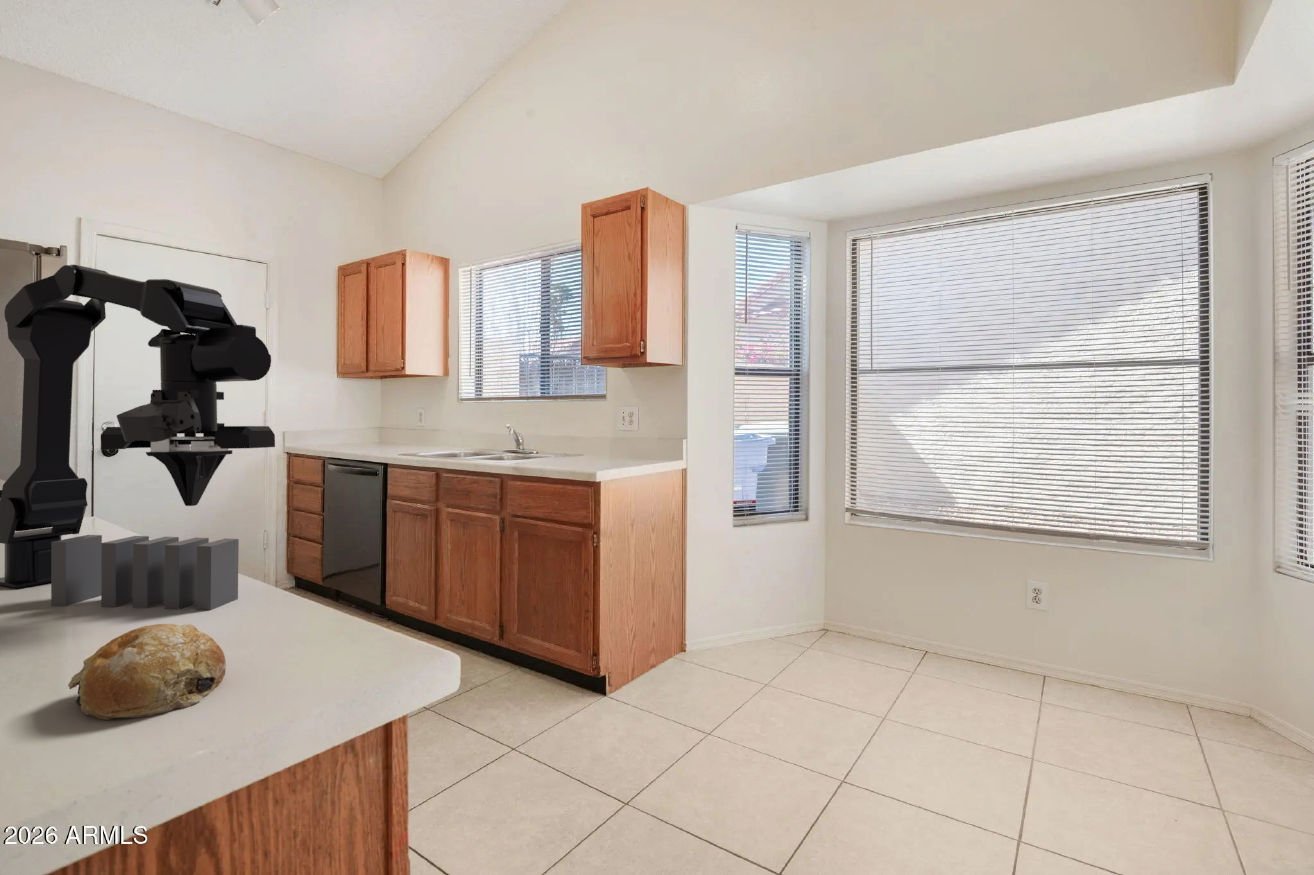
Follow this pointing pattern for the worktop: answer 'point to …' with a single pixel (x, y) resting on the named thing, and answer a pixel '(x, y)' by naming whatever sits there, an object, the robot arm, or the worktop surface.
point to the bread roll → (149, 672)
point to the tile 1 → (76, 569)
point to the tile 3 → (149, 572)
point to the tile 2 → (118, 571)
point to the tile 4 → (181, 572)
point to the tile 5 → (217, 573)
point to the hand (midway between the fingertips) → (191, 505)
